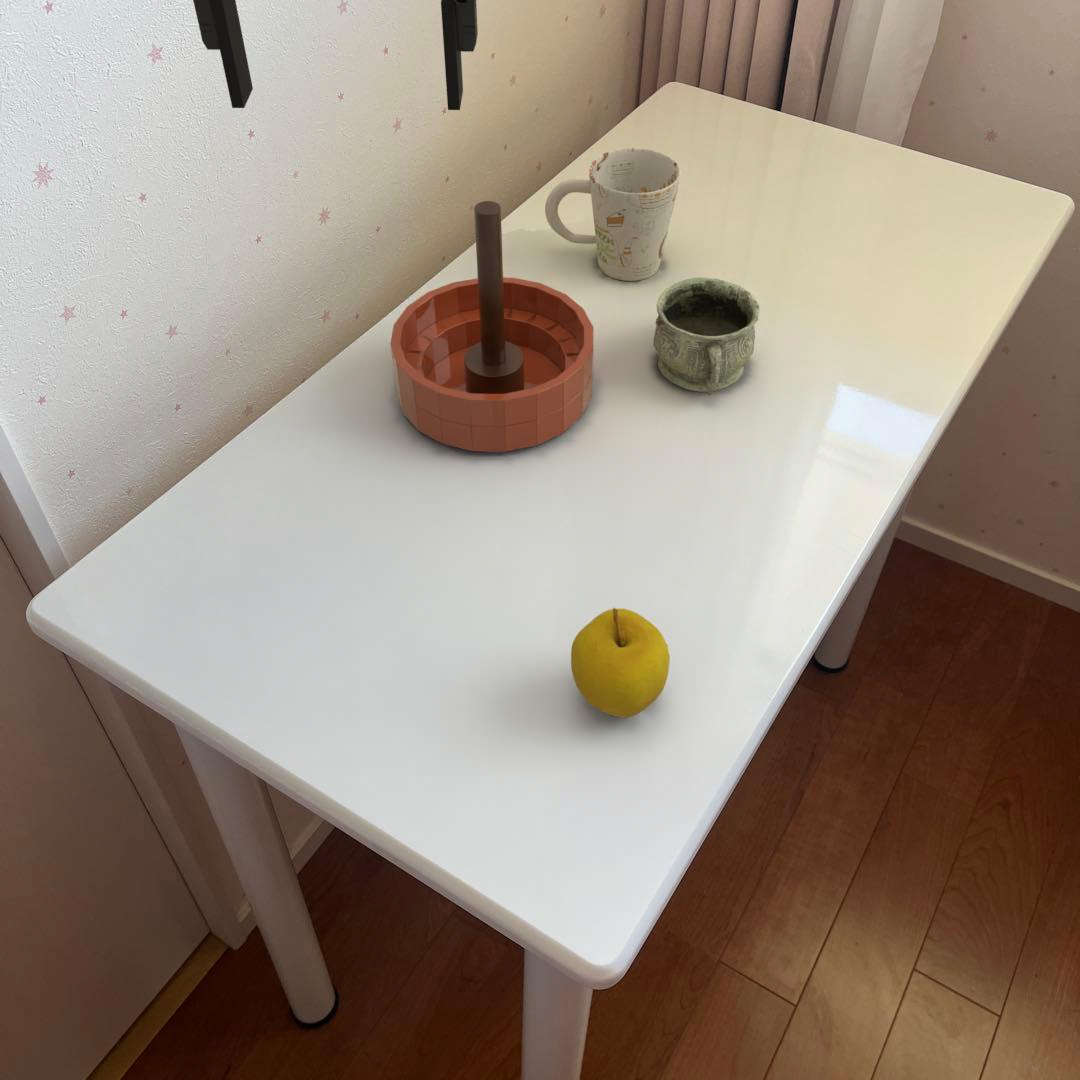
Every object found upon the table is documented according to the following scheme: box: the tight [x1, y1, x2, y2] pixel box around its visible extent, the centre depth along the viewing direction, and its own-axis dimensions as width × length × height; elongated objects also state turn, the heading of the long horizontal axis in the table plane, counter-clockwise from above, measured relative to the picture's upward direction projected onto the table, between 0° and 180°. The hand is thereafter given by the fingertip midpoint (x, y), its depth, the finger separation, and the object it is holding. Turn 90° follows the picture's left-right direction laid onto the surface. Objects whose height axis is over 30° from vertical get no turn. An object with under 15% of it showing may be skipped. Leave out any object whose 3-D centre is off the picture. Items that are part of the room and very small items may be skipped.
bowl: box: [389, 276, 595, 453], centre depth 93 cm, size 17×17×6 cm
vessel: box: [653, 277, 760, 396], centre depth 95 cm, size 12×9×6 cm
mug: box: [544, 147, 681, 282], centre depth 105 cm, size 8×13×10 cm, turn 81°
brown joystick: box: [464, 200, 524, 394], centre depth 89 cm, size 5×5×17 cm
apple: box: [570, 607, 671, 718], centre depth 71 cm, size 6×6×8 cm
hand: (349, 99), depth 70 cm, fingers open, 13 cm apart
